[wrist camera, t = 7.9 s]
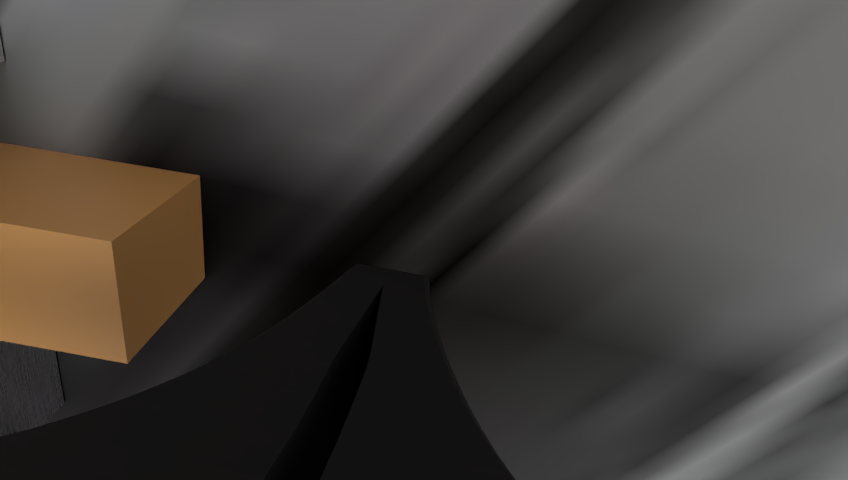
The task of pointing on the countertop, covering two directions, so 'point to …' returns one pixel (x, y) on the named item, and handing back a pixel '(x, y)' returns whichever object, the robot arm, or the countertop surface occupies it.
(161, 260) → the plug
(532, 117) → the countertop surface
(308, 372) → the robot arm
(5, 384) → the housing
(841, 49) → the countertop surface
